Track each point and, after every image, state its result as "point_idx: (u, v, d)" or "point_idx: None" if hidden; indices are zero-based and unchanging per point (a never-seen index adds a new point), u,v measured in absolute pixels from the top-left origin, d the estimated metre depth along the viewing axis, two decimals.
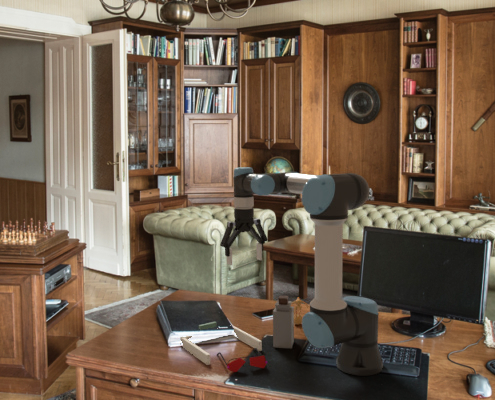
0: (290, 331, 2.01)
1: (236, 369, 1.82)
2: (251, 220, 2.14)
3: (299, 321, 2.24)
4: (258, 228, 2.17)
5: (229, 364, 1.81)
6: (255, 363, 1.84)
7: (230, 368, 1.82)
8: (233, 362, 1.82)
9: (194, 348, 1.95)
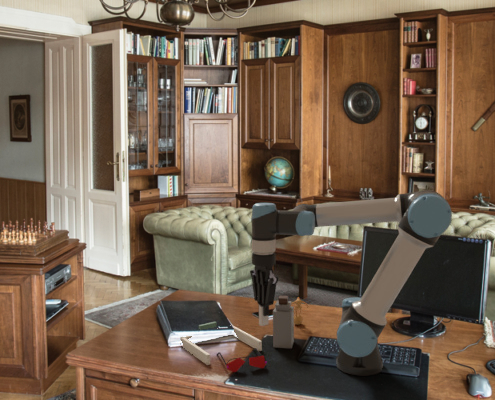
0: (290, 331, 2.01)
1: (235, 369, 1.82)
2: (266, 270, 1.72)
3: (299, 321, 2.24)
4: None
5: (228, 364, 1.81)
6: (255, 363, 1.84)
7: (229, 368, 1.82)
8: (232, 362, 1.82)
9: (194, 348, 1.95)
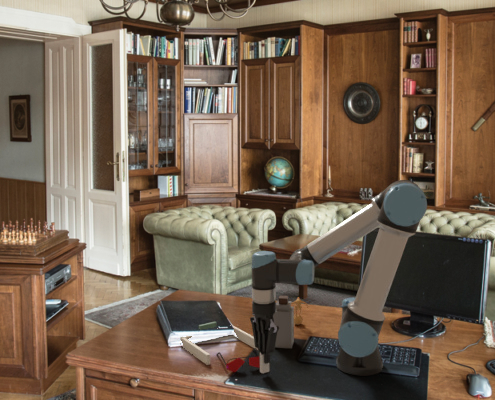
0: (290, 331, 2.01)
1: (235, 369, 1.82)
2: (267, 319, 1.73)
3: (299, 321, 2.24)
4: None
5: (228, 364, 1.81)
6: (255, 363, 1.84)
7: (229, 368, 1.82)
8: (232, 362, 1.82)
9: (194, 348, 1.95)
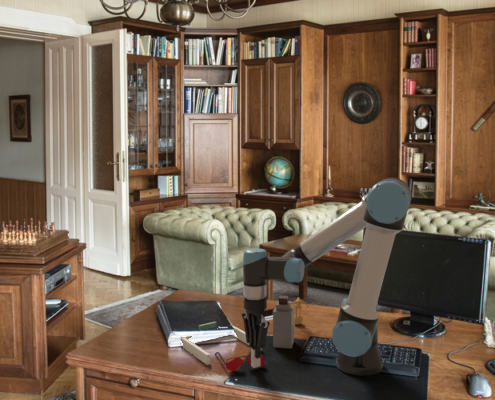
0: (290, 331, 2.01)
1: (234, 368, 1.83)
2: (258, 314, 1.77)
3: (299, 321, 2.24)
4: None
5: (227, 363, 1.82)
6: None
7: (228, 367, 1.82)
8: (231, 361, 1.82)
9: (194, 348, 1.95)
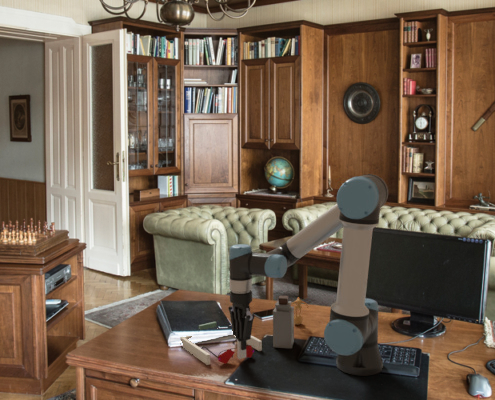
0: (290, 331, 2.01)
1: (226, 360, 1.89)
2: (243, 307, 1.84)
3: (299, 321, 2.24)
4: None
5: (220, 356, 1.88)
6: None
7: (221, 360, 1.88)
8: (223, 354, 1.88)
9: (194, 348, 1.95)
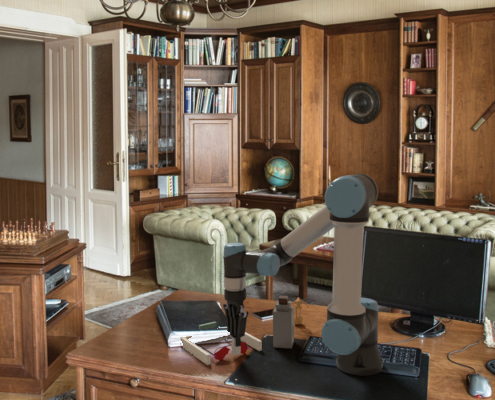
0: (290, 331, 2.01)
1: (222, 357, 1.92)
2: (237, 305, 1.88)
3: (299, 321, 2.24)
4: None
5: (216, 353, 1.90)
6: None
7: (217, 357, 1.91)
8: (219, 351, 1.91)
9: (194, 348, 1.95)
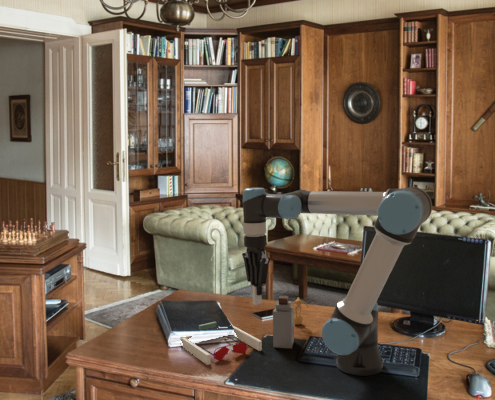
0: (290, 331, 2.01)
1: (221, 357, 1.92)
2: (258, 251, 1.81)
3: (299, 321, 2.24)
4: None
5: (215, 353, 1.91)
6: (237, 350, 1.95)
7: (216, 357, 1.91)
8: (219, 351, 1.91)
9: (194, 348, 1.95)
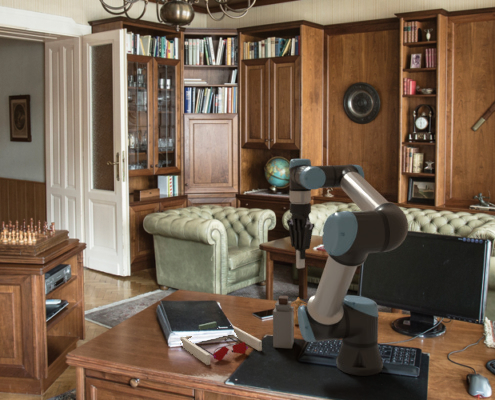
0: (290, 331, 2.01)
1: (221, 357, 1.92)
2: (303, 217, 1.94)
3: None
4: None
5: (215, 353, 1.90)
6: (237, 350, 1.95)
7: (216, 357, 1.91)
8: (219, 351, 1.91)
9: (194, 348, 1.95)
